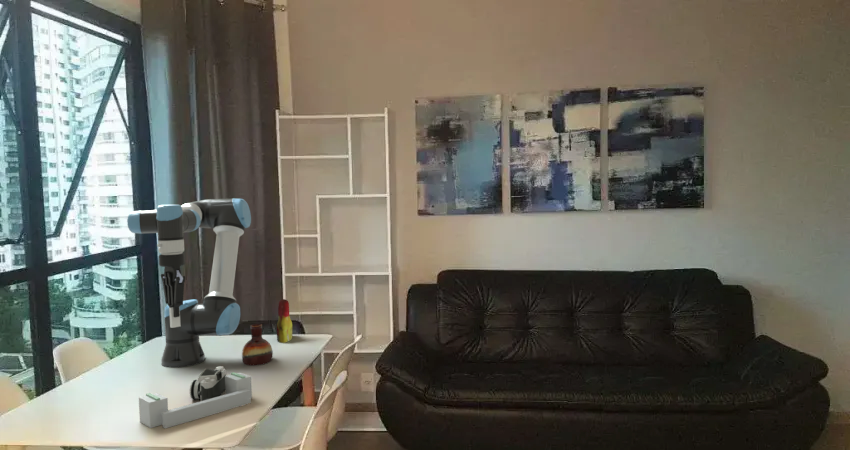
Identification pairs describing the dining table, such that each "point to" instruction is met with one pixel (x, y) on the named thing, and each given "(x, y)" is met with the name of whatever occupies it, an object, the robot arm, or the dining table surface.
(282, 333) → the bottle
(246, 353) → the vase
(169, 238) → the robot arm
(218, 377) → the camera
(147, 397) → the rail mount
